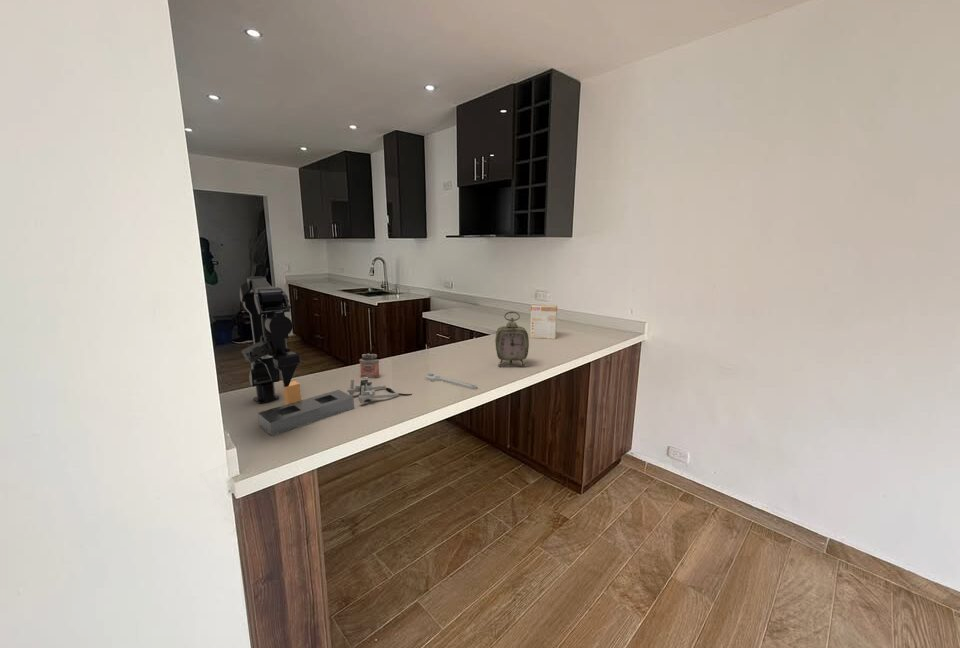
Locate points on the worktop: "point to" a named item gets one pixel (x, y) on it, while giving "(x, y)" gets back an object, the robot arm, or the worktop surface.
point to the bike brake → (367, 393)
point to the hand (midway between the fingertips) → (280, 383)
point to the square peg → (292, 393)
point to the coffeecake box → (543, 321)
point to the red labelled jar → (369, 366)
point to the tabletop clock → (512, 342)
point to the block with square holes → (304, 411)
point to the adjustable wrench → (449, 381)
